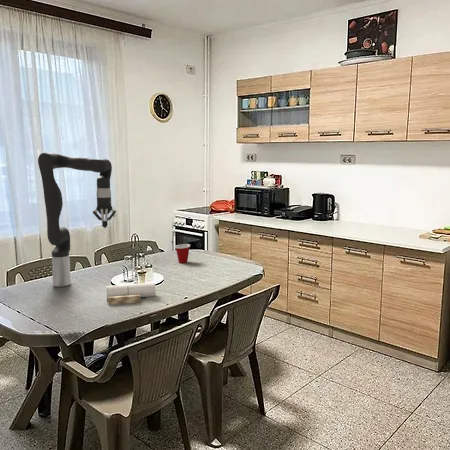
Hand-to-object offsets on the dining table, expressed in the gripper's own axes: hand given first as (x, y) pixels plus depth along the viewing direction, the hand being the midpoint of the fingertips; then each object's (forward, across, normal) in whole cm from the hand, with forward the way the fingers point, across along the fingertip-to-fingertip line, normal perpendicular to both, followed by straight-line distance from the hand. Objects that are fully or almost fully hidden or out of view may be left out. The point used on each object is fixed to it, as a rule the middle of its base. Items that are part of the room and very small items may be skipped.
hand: (105, 227), depth 244 cm
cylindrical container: (+31, -1, +20) cm, 37 cm away
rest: (+34, -10, +21) cm, 41 cm away
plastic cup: (+35, -48, -46) cm, 75 cm away
